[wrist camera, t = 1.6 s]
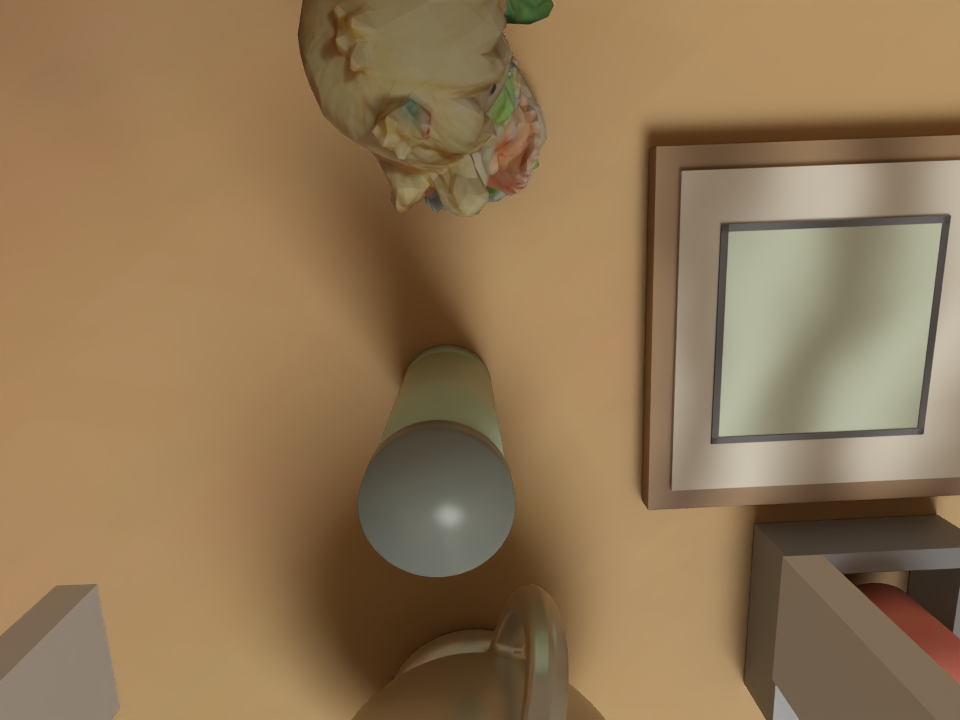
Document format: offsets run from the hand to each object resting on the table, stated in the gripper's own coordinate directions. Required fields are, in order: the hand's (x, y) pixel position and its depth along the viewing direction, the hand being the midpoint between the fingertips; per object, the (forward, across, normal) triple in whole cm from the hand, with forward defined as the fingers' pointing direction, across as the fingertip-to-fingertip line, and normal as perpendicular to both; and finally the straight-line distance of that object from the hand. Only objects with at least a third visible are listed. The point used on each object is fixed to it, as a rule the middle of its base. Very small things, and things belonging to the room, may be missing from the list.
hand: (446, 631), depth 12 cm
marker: (+17, 0, 0) cm, 17 cm away
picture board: (+17, +18, +2) cm, 24 cm away
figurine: (+17, 0, +12) cm, 21 cm away
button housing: (+17, +19, -12) cm, 28 cm away
